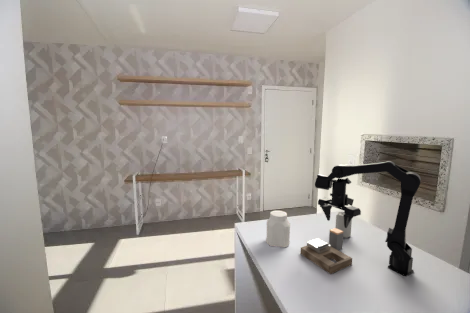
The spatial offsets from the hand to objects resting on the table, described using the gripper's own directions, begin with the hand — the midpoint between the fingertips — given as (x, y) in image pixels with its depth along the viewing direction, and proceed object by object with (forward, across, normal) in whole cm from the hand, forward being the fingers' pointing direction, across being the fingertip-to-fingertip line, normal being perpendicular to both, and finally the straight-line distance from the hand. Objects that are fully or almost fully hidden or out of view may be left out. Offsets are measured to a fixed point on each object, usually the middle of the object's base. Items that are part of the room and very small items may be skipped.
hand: (336, 224), depth 101 cm
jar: (+12, +17, +21) cm, 30 cm away
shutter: (+9, 0, +12) cm, 15 cm away
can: (+12, +7, -15) cm, 21 cm away
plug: (+12, 0, 0) cm, 12 cm away
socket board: (+12, -4, +12) cm, 17 cm away
